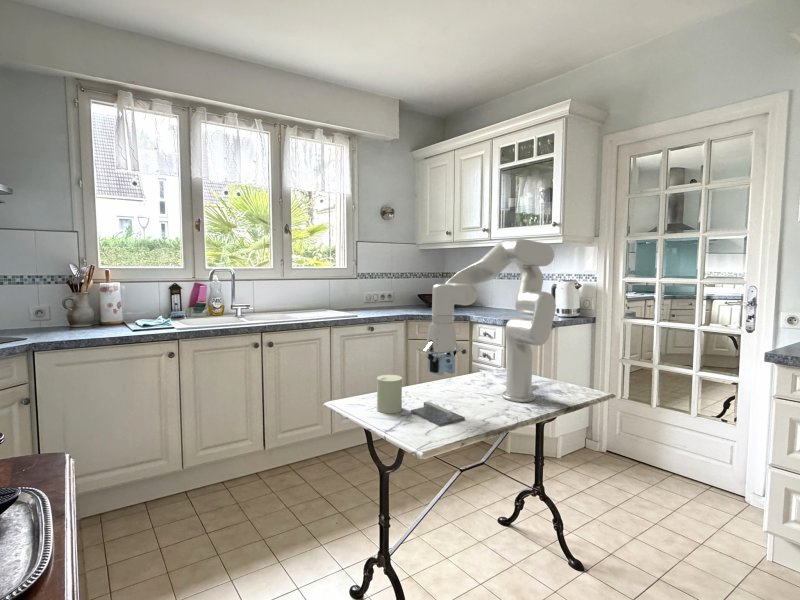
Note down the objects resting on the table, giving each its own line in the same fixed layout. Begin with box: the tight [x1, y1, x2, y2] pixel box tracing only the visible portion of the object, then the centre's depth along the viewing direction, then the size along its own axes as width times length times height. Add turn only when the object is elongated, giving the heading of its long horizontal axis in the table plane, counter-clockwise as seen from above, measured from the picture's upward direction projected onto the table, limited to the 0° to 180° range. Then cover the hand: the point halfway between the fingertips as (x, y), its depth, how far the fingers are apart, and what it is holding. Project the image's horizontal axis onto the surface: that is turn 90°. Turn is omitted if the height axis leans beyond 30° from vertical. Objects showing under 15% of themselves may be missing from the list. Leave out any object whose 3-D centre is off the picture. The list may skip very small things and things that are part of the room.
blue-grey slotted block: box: [427, 353, 456, 377], centre depth 156 cm, size 6×7×6 cm
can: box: [376, 374, 403, 414], centre depth 162 cm, size 9×9×12 cm
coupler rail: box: [410, 401, 466, 427], centre depth 155 cm, size 11×16×3 cm
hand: (441, 370), depth 156 cm, fingers closed on blue-grey slotted block, 6 cm apart
